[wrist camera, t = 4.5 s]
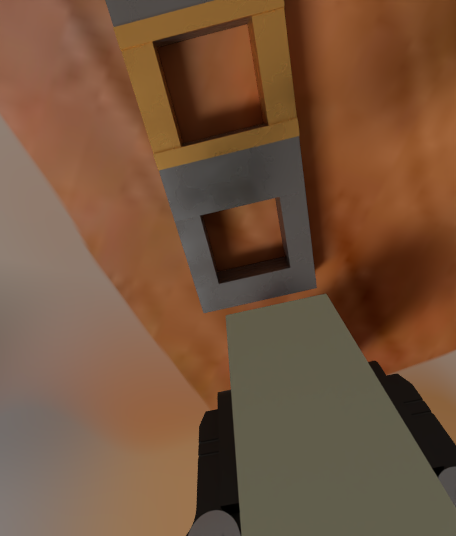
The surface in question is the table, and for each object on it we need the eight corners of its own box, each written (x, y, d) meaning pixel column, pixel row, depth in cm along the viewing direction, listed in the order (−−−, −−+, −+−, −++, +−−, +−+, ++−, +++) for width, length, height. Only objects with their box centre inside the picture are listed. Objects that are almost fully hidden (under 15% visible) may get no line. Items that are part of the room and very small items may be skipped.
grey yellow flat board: (270, -33, 18) (278, -50, 16) (309, 275, 27) (317, 289, 25) (114, 8, 19) (103, -3, 17) (203, 299, 28) (203, 314, 26)
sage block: (326, 293, 13) (524, 621, 5) (334, 368, 14) (487, 698, 6) (225, 315, 13) (250, 662, 5) (245, 386, 15) (288, 726, 7)
